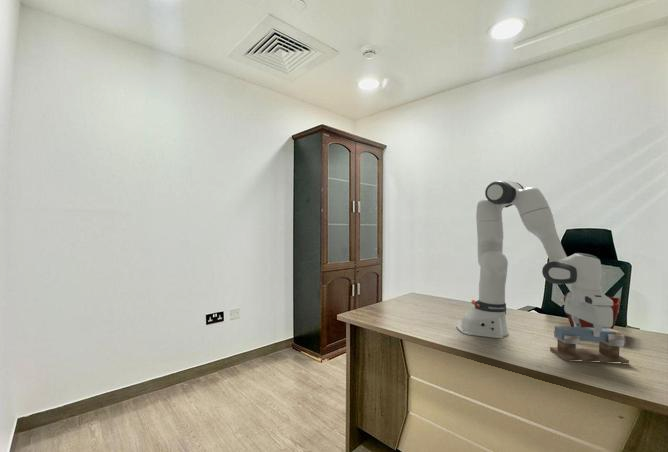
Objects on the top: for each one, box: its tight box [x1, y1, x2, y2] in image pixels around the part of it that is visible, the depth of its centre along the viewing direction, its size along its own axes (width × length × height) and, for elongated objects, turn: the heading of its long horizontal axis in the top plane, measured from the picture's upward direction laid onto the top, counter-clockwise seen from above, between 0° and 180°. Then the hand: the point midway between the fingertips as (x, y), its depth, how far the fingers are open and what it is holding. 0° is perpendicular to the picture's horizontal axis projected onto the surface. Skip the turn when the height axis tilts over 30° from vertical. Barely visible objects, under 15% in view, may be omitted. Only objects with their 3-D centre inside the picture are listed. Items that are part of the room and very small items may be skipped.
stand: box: [549, 329, 630, 364], centre depth 112 cm, size 22×9×10 cm, turn 83°
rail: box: [554, 325, 620, 343], centre depth 113 cm, size 20×4×4 cm, turn 83°
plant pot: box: [563, 294, 622, 330], centre depth 141 cm, size 19×19×17 cm
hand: (586, 331), depth 113 cm, fingers open, 8 cm apart
